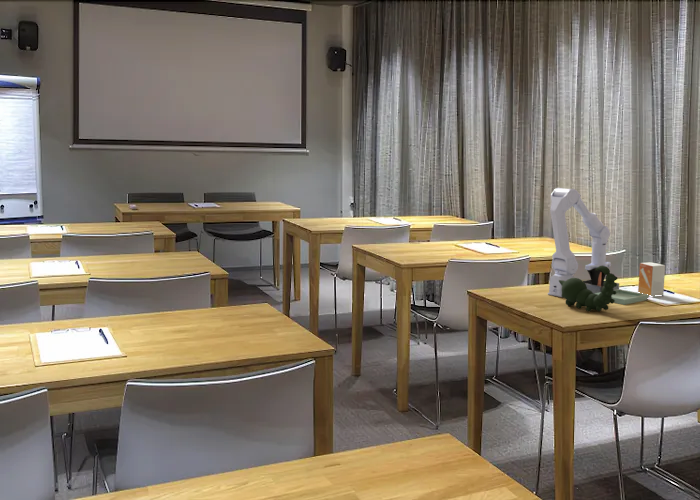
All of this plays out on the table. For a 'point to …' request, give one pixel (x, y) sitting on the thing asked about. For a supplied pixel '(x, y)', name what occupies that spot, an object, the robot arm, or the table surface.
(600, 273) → the dowel
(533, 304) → the table surface
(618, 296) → the tray
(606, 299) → the toy figurine
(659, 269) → the small box
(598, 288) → the grey square bin
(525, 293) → the table surface
